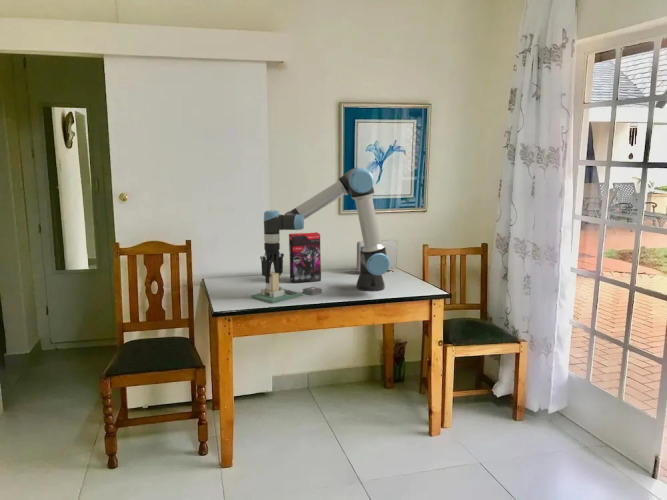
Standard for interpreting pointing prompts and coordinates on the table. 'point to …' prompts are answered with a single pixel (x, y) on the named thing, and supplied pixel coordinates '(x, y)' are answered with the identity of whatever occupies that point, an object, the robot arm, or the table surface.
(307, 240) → the graphics card box
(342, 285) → the table surface
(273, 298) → the board
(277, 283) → the plug
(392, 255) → the network device
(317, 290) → the fan block
